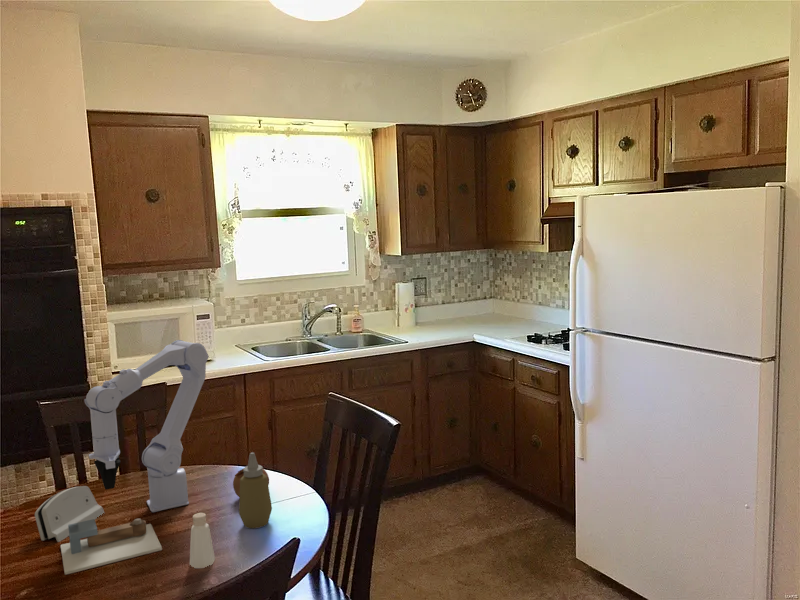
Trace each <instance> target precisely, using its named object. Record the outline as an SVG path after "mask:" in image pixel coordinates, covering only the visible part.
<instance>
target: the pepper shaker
mask: <svg viewBox="0 0 800 600" xmlns="http://www.w3.org/2000/svg"><path fill="white" fill-rule="evenodd" d="M212 540H213V539H212V536H211V529H210V525H209V523H207V515H206V513H205V512H198V513H195V514H193V515H192V526H191V529H190V544H189V545H190V547H189V566H190V565H191V566H190V567H192V568H193V567H194V568H193V569H204V568H205V567H206V568H207V566H208V567H210V566H212V565H213V564H214V562H215V560H216V556H215V551H214V546H213V541H212ZM209 565H210V566H209Z"/></svg>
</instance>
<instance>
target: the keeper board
mask: <svg viewBox="0 0 800 600" xmlns="http://www.w3.org/2000/svg"><path fill="white" fill-rule="evenodd" d="M68 529H69V536H68V537H69V542H66V543H62V544H60V552H61V556H62V565H63V571H64V575H65V576H66V575H71V574H75V573H78V572H81V571H85V570H88V569H93V568H97V567H101V566H105V565H108V564H112V563H117V562H120V561H124V560H128V559H132V558H136V557H139V556H143V555H148V554H152V553H156V552H160V551H162V550H163V548H162V547H163V546H162V544H161V543H160V541H159V539H158V536H157V534H156V532H155V530H154V527H153V525H152V524H151V523H146V533H145V534H143V535H140V536H132V537H128V538H124V539H120V540H116V541H112V542H108V543H104V544H100V545H96V546H92V547H89V546H88V542H87V537H89V536H94V535H98V532H97V531H98V527H97V524H96V519H92V520H87V521H83V522H79V523H74V524H70V525H68Z"/></svg>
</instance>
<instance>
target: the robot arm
mask: <svg viewBox="0 0 800 600" xmlns="http://www.w3.org/2000/svg"><path fill="white" fill-rule="evenodd" d="M209 356H210V355H209V354H208V351H207V349H206V348H205V346H204V345H203V344H202V343H200V342H191V341H184V340H181V339H177V340H174V341H173V342H171V343H169V344H167V345H165V346H164V348H163V349H162V350H160V351H159V352H158V353H157V354H155V355H154V356H152V357H151V358H149V359H147V361H145V362H144V363H142V364H141V365H140V366H138V367H137V368H136V369H134V368H133V369H132V368H127V369H126V368H123V369H121V370H120V371H119V374H117V375H116V376H114V377H112V378H111V379H109V380H105V381H103V383H102V385H96V386H93V387H92V388H90V389H89V391H88V393H86V396H85V397H86V398H84V404H85V406H86V407H88V409H89V412H90V423H91V433H92V435H91V436H92V446H93V453H89V454H88V459H90V460H92V459H95V460H94V465H95V467H96V469H97V471H98V472H99V474H100V477H101V480H102V481H101V482H102V485H103V487H104V489H105V490H110V489H114V488H115V487H116V486H115V485H116V480H117V479H116V478H117V472H118V469H119V467H120V466H121V459H120V454H121V449H120V445H119V433H118V421H117V408H118V407H119V405H120V403H121V401H122V400H124V399H126V398H127V397H129V396H130V395H132V394H133V393H134V392H136V391H138V390H139V389H140V388H141V387H142V386H143V383H144V381H145V380H147V379H148V378H149V377H152V376H153V375H154V374H156V373H158V372H161V370H163V369H165V368H167V367H169V366H175V368H177V369H178V370H179V372H180V375H181V376H182V380H181V382H180V384H179V387H178V389H177V392H176V395H175V396H174V399H173V401H172V403H171V406H170V409H169V411H168V414H166V415H167V416H166V418H165V421H164V423H163V426H162V427H161V430H160V432H159V433H158V434H157V435H156V436H154V437H153V438H152V439H151V440H150V443H149V444H148V445H147V447H145V448H144V450H143V451H142V454H141V461H142V464H143V466H145V467H146V469H147V478H148V479H147V480H148V481H147V482H148V493H149V499H148V500H146V504H147V506H148V508H149V510H150V512H151V513H156V512H160V511H165V510H168V509H173V508H179V507H182V506H187V505H189V504H190V502H189V496H188V494H189V493H188V481H187V474H186V470H185V468H184V467H180V466H181V463H182V453H183V451H184V448H183V445H182V441H181V439H182V436H183V433H184V432H185V429H186V426H187V425H188V422H189V419H190V417H191V415H192V412H193V409H194V407H195V405H196V402H197V399H198V397H199V394H200V393H201V390H202V387H203V385H204V383H205V380H206V374H207V373H206V368H207V366H206V364H207V362H208V359H209Z"/></svg>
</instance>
